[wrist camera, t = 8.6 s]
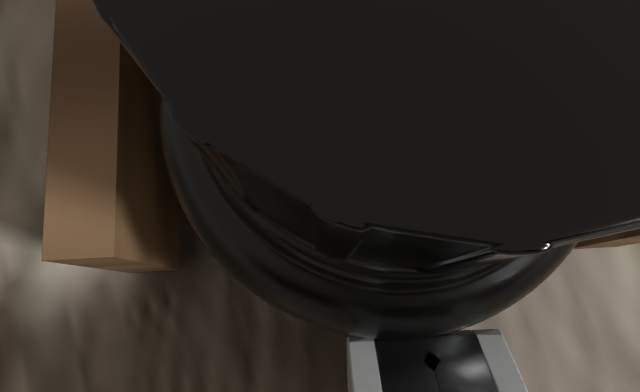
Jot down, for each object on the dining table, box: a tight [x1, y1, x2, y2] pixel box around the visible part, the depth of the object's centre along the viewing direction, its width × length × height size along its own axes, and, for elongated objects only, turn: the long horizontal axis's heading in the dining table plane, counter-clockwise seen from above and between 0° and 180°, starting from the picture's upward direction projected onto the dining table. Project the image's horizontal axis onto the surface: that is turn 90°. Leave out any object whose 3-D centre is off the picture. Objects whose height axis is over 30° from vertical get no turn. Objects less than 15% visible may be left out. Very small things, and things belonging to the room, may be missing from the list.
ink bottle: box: [92, 0, 640, 340], centre depth 10 cm, size 10×9×12 cm
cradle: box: [42, 0, 640, 273], centre depth 14 cm, size 8×15×5 cm, turn 93°
